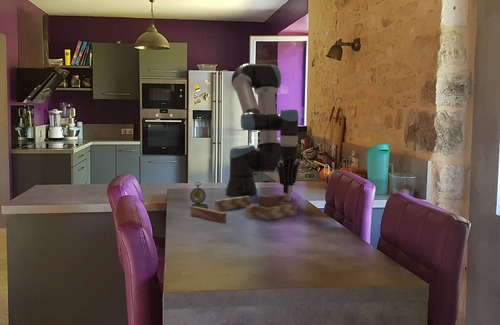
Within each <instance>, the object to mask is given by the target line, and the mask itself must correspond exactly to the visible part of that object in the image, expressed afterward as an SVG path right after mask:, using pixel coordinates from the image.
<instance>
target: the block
mask: <svg viewBox="0 0 500 325" xmlns="http://www.w3.org/2000/svg"><path fill="white" fill-rule="evenodd" d="M276 202H286V200H285V196H284V194H283V195H280V194H274V193H268V194H263V195H258V206H263V207H268V208H269V207H275V206H276Z"/></svg>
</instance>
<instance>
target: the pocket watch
mask: <svg viewBox="0 0 500 325" xmlns="http://www.w3.org/2000/svg"><path fill="white" fill-rule="evenodd" d="M197 183H198V184H197ZM194 185H195V186H196V188H193V189H192V190H191V191H190V194H189V198H190V200H191V202H192V203H193V204H191V207H193V206H196V207H201V208H205V209H207V208H208V205H209V204H207V203H203V202H204V201H205V200H206V198H207V195H206V191H205V190H204V189H202V188H201V187H200V186H201V185H202V182H199V181H196V182H194Z"/></svg>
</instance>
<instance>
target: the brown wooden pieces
mask: <svg viewBox="0 0 500 325" xmlns="http://www.w3.org/2000/svg"><path fill="white" fill-rule="evenodd" d="M244 207H245V217H246V218H259V219H264V220H273V219H275V220H276V219H279V218H285V217H290V216H294V215H295V216H296V215H298V214H297V213H298V211H297V210H298V204H297V203H291V202H288V201H287V202H286V201H285V202H276V206H275V207H269V208H268V207H263V206H259V204H257V205H256V204H253V205H251V196H234V197H230V198H229V197H228V198H223V199H215V200H214V209H209V208H201V207H196V206H193V207H192V206H190V215H192V216H195V217H200V218H203V219H208V220H211V221H217V222H221V223H223V222H227V212H223V211H225V210H233V209H237V208H238V209H239V208H244Z"/></svg>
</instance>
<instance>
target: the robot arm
mask: <svg viewBox="0 0 500 325" xmlns="http://www.w3.org/2000/svg"><path fill="white" fill-rule="evenodd" d="M281 85H282V74H281V70H280V68H279V67H278V66H277V65H275V64H271V63H267V64H266V63H244V64H241V65H240V66H238V67H236V69H234V71H233V74H232V76H231V86H232V88H233V90H234V91H235V92H236V95H237V98H238V101H239V105H240V108H241V111H242V114H241V116H240V126H241V129H242V130H243V131H250V132H251V131H252V132H253V131H254V132H256V131H259V142H258V143H257V144H256V146H255V145H254V144H248V145H247V144H244V145H238V146H237V145H236V146H233V147H232V148H231V149H230V152H229V179H228V182H227V186H226V188H225V194H226V195H227V196H232V197H242V196H250V197H254V196H257V195H258V188H257V185H256V181H255V173H278V179H279V184H280V185H282V187H283V196H285V201H287V202H289V201H290V202H291V201H292V192H293V189H292V188H293V186H294V185H295V183H296V180H297V177H298V176H297V174H298V170H299V166H300V164H301V162H300V161H299V160H297V157H296V156H297V155H298V144H299V141H298V140H299V137H298V136H299V135H298V134H299V132H298V131H299V111H298V110H297V109H285V108H284V109H283V108H282V109H281V110H280V112H279V113H277V109H276V93H278V90H279V88H280V87H281ZM255 94H256V95H257V99H256V96H255ZM278 132H279V136H280V137H279V138H280V139H279V140H278Z"/></svg>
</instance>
